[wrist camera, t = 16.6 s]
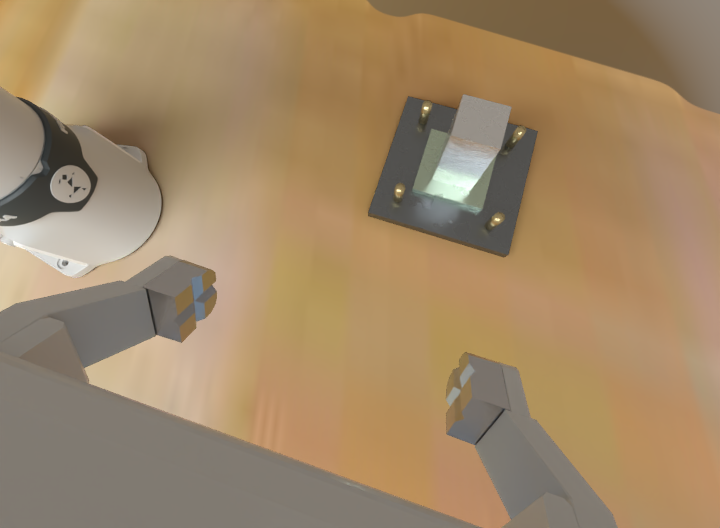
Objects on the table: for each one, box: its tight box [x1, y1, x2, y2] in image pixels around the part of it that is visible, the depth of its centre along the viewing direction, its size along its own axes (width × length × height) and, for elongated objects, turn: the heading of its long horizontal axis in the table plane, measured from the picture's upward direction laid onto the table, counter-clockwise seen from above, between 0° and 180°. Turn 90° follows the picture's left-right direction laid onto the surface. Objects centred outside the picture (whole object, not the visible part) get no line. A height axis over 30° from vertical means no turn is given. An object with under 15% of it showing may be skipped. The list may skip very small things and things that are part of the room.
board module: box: [412, 94, 511, 211], centre depth 36 cm, size 9×9×10 cm
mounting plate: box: [368, 96, 538, 257], centre depth 40 cm, size 18×18×4 cm
